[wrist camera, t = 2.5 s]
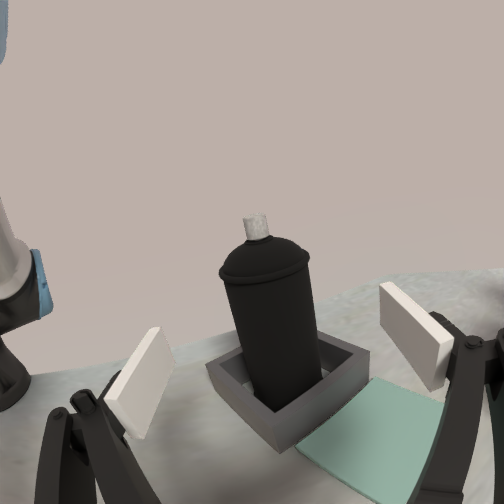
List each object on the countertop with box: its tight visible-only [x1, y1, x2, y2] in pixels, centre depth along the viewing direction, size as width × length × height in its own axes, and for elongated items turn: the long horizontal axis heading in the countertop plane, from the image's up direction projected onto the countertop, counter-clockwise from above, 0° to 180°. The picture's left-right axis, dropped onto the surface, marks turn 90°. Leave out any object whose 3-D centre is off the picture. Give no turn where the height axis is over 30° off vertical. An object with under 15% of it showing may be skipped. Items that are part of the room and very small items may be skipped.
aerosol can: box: [219, 213, 323, 413], centre depth 26 cm, size 8×8×20 cm
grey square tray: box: [205, 330, 370, 454], centre depth 28 cm, size 13×13×4 cm
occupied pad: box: [295, 376, 444, 504], centre depth 18 cm, size 12×12×1 cm
